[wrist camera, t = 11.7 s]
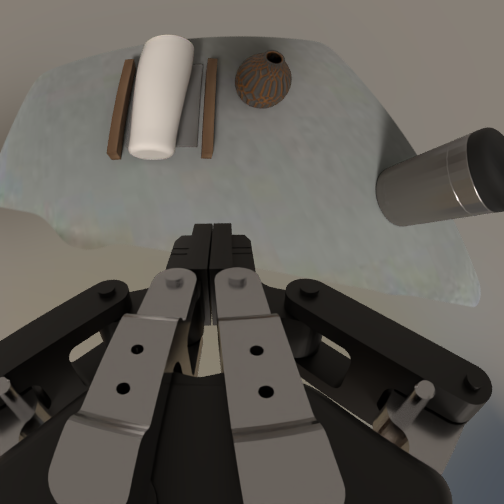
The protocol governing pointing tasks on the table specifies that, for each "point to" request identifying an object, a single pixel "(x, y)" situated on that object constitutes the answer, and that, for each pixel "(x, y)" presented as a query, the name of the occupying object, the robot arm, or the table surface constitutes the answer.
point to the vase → (263, 79)
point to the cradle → (188, 116)
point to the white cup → (159, 96)
